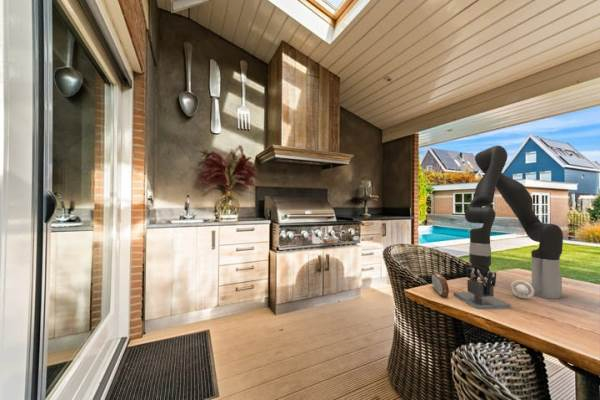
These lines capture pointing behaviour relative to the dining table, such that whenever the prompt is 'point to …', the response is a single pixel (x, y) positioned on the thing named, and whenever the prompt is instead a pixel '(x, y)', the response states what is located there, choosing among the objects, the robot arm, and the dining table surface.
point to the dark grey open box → (478, 288)
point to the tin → (440, 284)
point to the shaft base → (481, 300)
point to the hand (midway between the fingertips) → (480, 292)
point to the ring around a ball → (522, 289)
